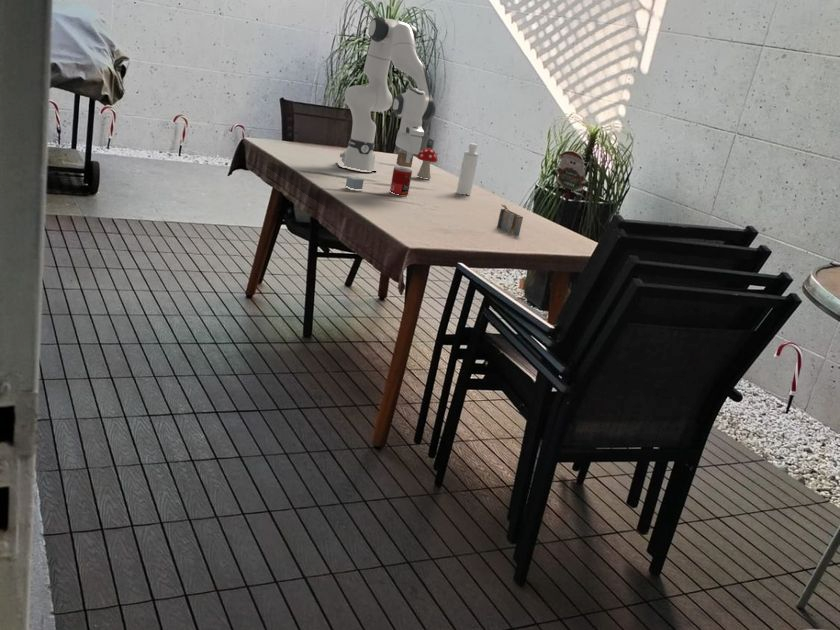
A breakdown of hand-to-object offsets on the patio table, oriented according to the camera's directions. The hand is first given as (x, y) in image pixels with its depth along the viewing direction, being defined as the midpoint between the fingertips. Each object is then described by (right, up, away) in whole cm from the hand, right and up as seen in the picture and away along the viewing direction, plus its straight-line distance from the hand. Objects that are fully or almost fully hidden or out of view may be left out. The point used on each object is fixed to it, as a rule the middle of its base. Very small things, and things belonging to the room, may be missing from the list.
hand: (404, 161), depth 343 cm
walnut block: (0, -2, +1) cm, 2 cm away
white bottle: (+27, -9, +35) cm, 45 cm away
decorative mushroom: (+8, +2, +57) cm, 58 cm away
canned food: (-3, -13, +4) cm, 14 cm away
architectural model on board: (+41, -33, -27) cm, 59 cm away
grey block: (-21, -13, -6) cm, 25 cm away
